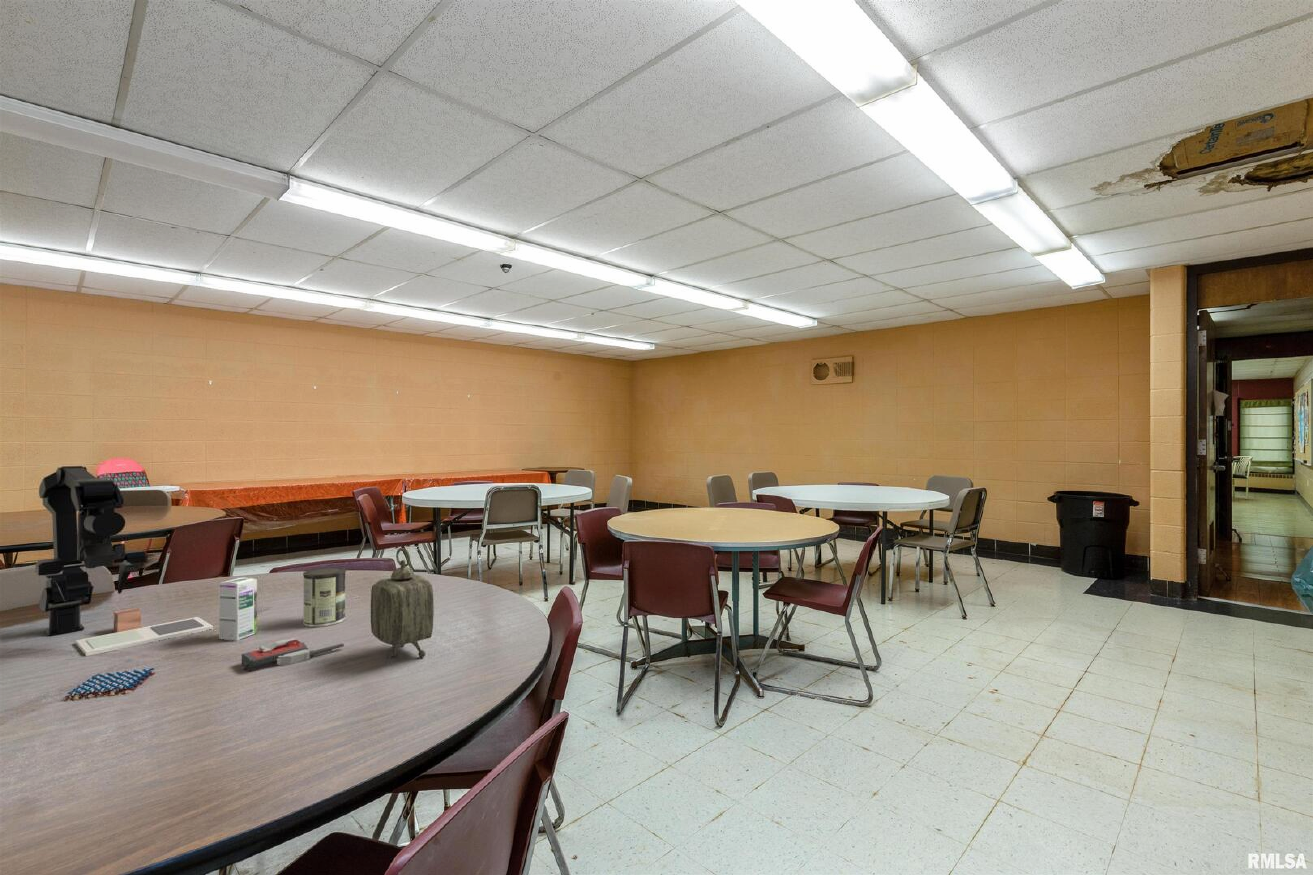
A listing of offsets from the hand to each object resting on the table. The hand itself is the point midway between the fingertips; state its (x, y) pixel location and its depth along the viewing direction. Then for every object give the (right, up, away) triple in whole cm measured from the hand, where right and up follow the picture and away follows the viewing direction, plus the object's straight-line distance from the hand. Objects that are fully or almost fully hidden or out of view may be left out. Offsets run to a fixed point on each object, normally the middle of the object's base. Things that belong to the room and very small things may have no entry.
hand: (93, 597), depth 137 cm
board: (+6, -12, +8) cm, 16 cm away
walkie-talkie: (+51, -13, -5) cm, 53 cm away
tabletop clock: (+75, -13, -3) cm, 76 cm away
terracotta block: (-3, -12, +12) cm, 18 cm away
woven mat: (+25, -13, -21) cm, 35 cm away
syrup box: (+29, -13, +8) cm, 32 cm away
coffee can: (+43, -13, +21) cm, 50 cm away
